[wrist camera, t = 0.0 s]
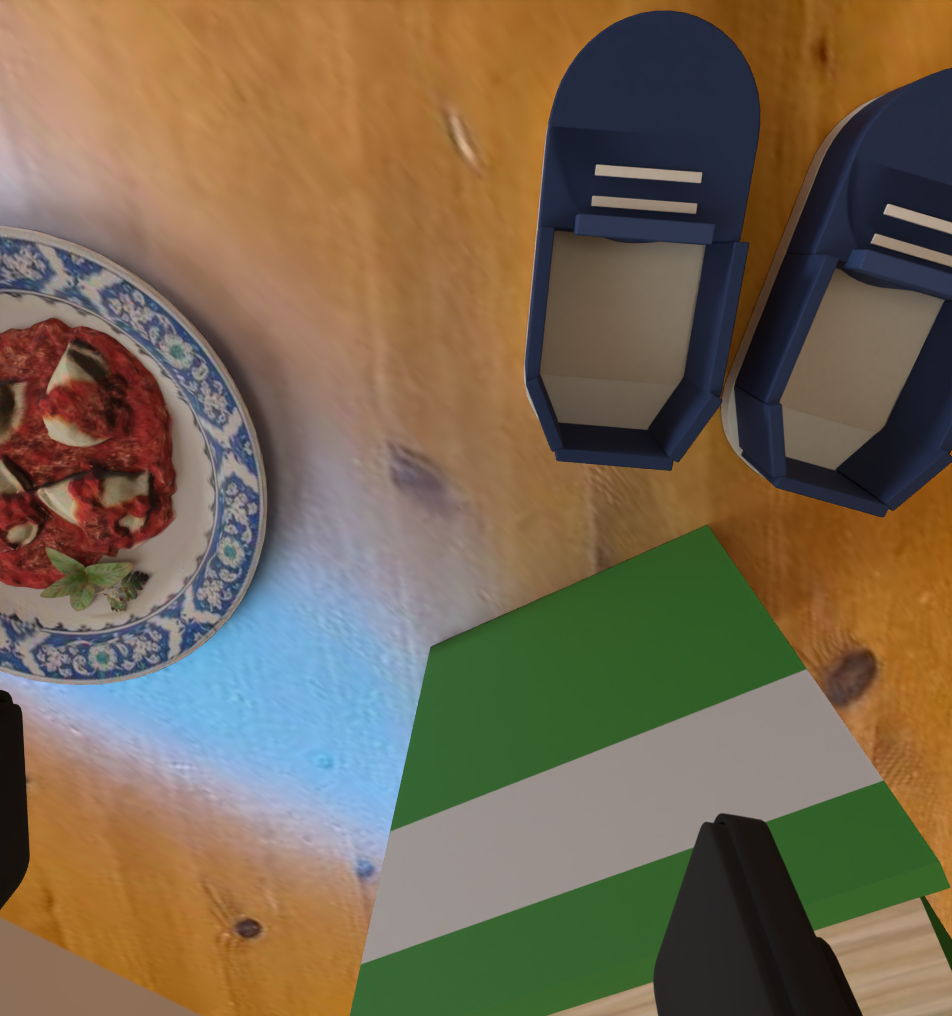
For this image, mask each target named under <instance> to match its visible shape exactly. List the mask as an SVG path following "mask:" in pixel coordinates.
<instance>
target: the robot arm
mask: <svg viewBox="0 0 952 1016" xmlns="http://www.w3.org/2000/svg"><path fill="white" fill-rule="evenodd" d="M29 857H30V852H29V833H28V814H27V795H26V777H25V758H24V739H23V720H22V711H21V708H20V706H19V705H17V704H13V702H12V697H11V696H10V694H9V693H8V692H6V691H3V690H0V909H1V908H2V907H3V906H4V904H5V903H6V902H7V900H8V899H9V898H10V897H11V895H12V894H13V893H14V892H15V890H16V889H17V888H18V886H19V885H20V883H21V882H22V880H23V878H24V876H25V873H26V871H27V868H28V864H29ZM653 986H654V996H655V1002H656V1007H657V1013H658V1016H863V1015H862V1012H861V1010H860V1008H859V1006H858V1003H857V1001H856V999H855V997H854V995H853V992H852V990H851V988H850V986H849V984H848V981H847V979H846V977H845V975H844V972H843V970H842V968H841V966H840V964H839V961H838V959H837V957H836V955H835V954H834V952H833V950H832V948H831V947H830V945H829V944H828V943H827V942H826V941H825V940H824V939H822V938H821V937H816V935H815V932H814V930H813V928H812V926H811V923H810V921H809V919H808V916H807V914H806V912H805V909H804V907H803V905H802V903H801V900H800V898H799V896H798V893H797V891H796V889H795V886H794V884H793V882H792V880H791V877H790V875H789V873H788V870H787V868H786V866H785V863H784V861H783V859H782V857H781V854H780V852H779V850H778V847H777V845H776V843H775V840H774V838H773V836H772V834H771V831H770V829H769V827H768V825H767V824H766V822H764V821H763V820H761V819H755V818H749V817H743V816H738V815H732V814H726V813H720V814H719V815H718V816H717V817H716V818H715V820H714V823H712V822H704V823H703V824H702V826H701V828H700V830H699V833H698V836H697V839H696V842H695V845H694V848H693V851H692V854H691V857H690V860H689V863H688V866H687V869H686V872H685V875H684V878H683V881H682V884H681V887H680V890H679V893H678V896H677V899H676V902H675V905H674V908H673V911H672V914H671V917H670V920H669V923H668V926H667V929H666V932H665V935H664V938H663V941H662V944H661V947H660V950H659V953H658V956H657V959H656V963H655V967H654V977H653Z"/></svg>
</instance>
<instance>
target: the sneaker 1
mask: <svg viewBox="0 0 952 1016" xmlns="http://www.w3.org/2000/svg"><path fill="white" fill-rule="evenodd" d="M759 130H760V103H759V95H758V91H757V87H756V83H755V79H754V77H753V74H752V72H751V69H750V67H749V64H748V63H747V61H746V59H745V57H744V56H743V54H742V52H741V51H740V50H739V49H738V47H737V46H736V45H735V43H734V42H733V41H732V40H731V39H730V38H729V37H728V36H727V35H726V34H725V33H724V32H723V31H721V30H720V29H718V28H717V27H716V26H714V25H713V24H711V23H709V22H707V21H705V20H703V19H701V18H699V17H697V16H693V15H690V14H687V13H683V12H676V11H651V12H644V13H640V14H636V15H633V16H630V17H627V18H625V19H623V20H620V21H618V22H616V23H614V24H612V25H611V26H609V27H608V28H606V29H605V30H603V31H602V32H600V33H599V34H598V35H597V36H595V37H594V38H593V39H592V40H591V41H590V42H588V44H587V45H586V46H585V47H584V48H583V49H582V50H581V51H580V52H579V53H578V55H577V56H576V57H575V59H574V60H573V62H572V63H571V64H570V66H569V68H568V69H567V71H566V73H565V75H564V77H563V78H562V80H561V83H560V85H559V88H558V90H557V93H556V96H555V99H554V103H553V106H552V110H551V114H550V118H549V122H548V127H547V133H546V139H545V149H544V159H543V170H542V180H541V191H540V201H539V212H538V222H537V233H536V243H535V254H534V264H533V275H532V285H531V296H530V306H529V317H528V327H527V338H526V348H525V360H524V378H525V387H526V391H527V395H528V399H529V401H530V404H531V406H532V408H533V410H534V412H535V414H536V416H537V417H538V419H539V420H540V423H541V426H542V428H543V431H544V433H545V436H546V438H547V441H548V444H549V446H550V449H551V451H552V452H553V451H555V456H556V460H557V461H563V462H574V463H586V464H598V465H609V466H621V467H633V468H644V469H656V470H668V471H671V470H672V466H673V460H674V461H676V462H679V461H680V460H681V458H682V457H683V456H684V454H685V453H686V452H687V450H688V449H689V447H690V446H691V445H692V443H693V442H694V441H695V439H696V438H697V436H698V435H699V434H700V432H701V431H702V430H703V428H704V427H705V425H706V424H707V423H708V421H709V420H710V419H711V417H712V416H713V414H714V413H715V412H716V410H717V409H718V408H719V406H720V405H721V403H722V402H723V400H722V399H721V398H719V397H720V396H721V393H722V388H723V382H724V377H725V371H726V366H727V361H728V355H729V350H730V345H731V339H732V334H733V328H734V323H735V318H736V312H737V307H738V302H739V296H740V291H741V285H742V280H743V275H744V269H745V264H746V259H747V253H748V248H749V243H748V242H740V239H741V233H742V228H743V222H744V217H745V211H746V206H747V200H748V195H749V189H750V184H751V178H752V173H753V167H754V162H755V156H756V151H757V145H758V139H759Z"/></svg>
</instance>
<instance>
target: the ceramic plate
mask: <svg viewBox="0 0 952 1016" xmlns="http://www.w3.org/2000/svg"><path fill="white" fill-rule="evenodd" d="M267 502H268V499H267V483H266V474H265V468H264V462H263V456H262V452H261V448H260V444H259V441H258V437H257V433H256V430H255V427H254V425H253V422H252V419H251V416H250V414H249V411H248V409H247V406H246V404H245V402H244V400H243V398H242V396H241V394H240V392H239V390H238V387H237V386H236V384H235V382H234V380H233V379H232V377H231V375H230V374H229V372H228V370H227V369H226V367H225V365H224V364H223V362H222V361H221V359H220V358H219V357H218V355H217V354H216V352H215V351H214V350H213V348H212V347H211V345H210V344H209V343H208V341H207V340H206V339H205V338H204V337H203V336H202V334H201V333H200V332H199V331H198V330H197V328H196V327H195V326H194V325H193V324H192V323H191V322H190V321H189V320H188V319H187V318H186V317H185V316H184V315H183V314H182V313H181V312H180V311H179V310H178V309H177V308H176V307H175V306H174V305H173V304H172V303H171V302H170V301H169V300H168V299H166V298H165V297H164V296H163V295H162V294H160V293H159V292H158V291H157V290H156V289H154V288H153V287H152V286H151V285H149V284H148V283H146V282H145V281H143V280H142V279H141V278H139V277H138V276H136V275H135V274H133V273H132V272H131V271H129V270H128V269H126V268H124V267H122V266H121V265H119V264H117V263H115V262H114V261H112V260H110V259H108V258H107V257H105V256H103V255H100V254H98V253H96V252H94V251H92V250H90V249H87V248H85V247H83V246H81V245H78V244H75V243H72V242H69V241H66V240H63V239H60V238H57V237H54V236H51V235H48V234H45V233H42V232H37V231H33V230H28V229H22V228H15V227H8V226H0V671H2V672H5V673H9V674H12V675H15V676H19V677H23V678H28V679H32V680H37V681H44V682H50V683H57V684H74V685H87V684H106V683H113V682H119V681H124V680H128V679H133V678H138V677H141V676H144V675H147V674H150V673H153V672H156V671H158V670H160V669H163V668H165V667H167V666H169V665H171V664H174V663H176V662H178V661H179V660H181V659H183V658H184V657H186V656H188V655H189V654H191V653H192V652H193V651H195V650H196V649H198V648H199V647H200V646H202V645H203V644H204V643H206V642H207V641H208V640H209V639H210V638H211V637H212V636H213V635H214V634H215V633H216V632H217V631H218V630H219V629H220V628H221V627H222V626H223V625H224V623H225V622H226V621H227V620H228V619H229V618H230V617H231V615H232V614H233V612H234V611H235V609H236V608H237V606H238V605H239V603H240V602H241V600H242V599H243V597H244V595H245V593H246V591H247V589H248V587H249V585H250V583H251V581H252V578H253V576H254V573H255V571H256V568H257V565H258V563H259V559H260V554H261V550H262V546H263V543H264V538H265V534H266V519H267Z"/></svg>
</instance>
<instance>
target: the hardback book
mask: <svg viewBox="0 0 952 1016" xmlns="http://www.w3.org/2000/svg"><path fill="white" fill-rule="evenodd" d="M720 813H726V814H732V815H738V816H743V817H749V818H755V819H761V820H763V821H764V822H766V824H767V825H768V827H769V829H770V831H771V834H772V836H773V838H774V840H775V843H776V845H777V847H778V850H779V852H780V854H781V857H782V859H783V861H784V863H785V866H786V868H787V870H788V873H789V875H790V877H791V880H792V882H793V884H794V886H795V889H796V891H797V893H798V896H799V898H800V900H801V903H802V905H803V907H804V909H805V912H806V914H807V916H808V919H809V921H810V923H811V926H812V928H813V930H814V932H815V935H816V937H821V938H822V939H824V940H825V941H826V942H827V943H828V944H829V945H830V947H831V948H832V950H833V952H834V954H835V955H836V957H837V959H838V961H839V964H840V966H841V968H842V970H843V972H844V975H845V977H846V979H847V981H848V984H849V986H850V988H851V990H852V992H853V995H854V997H855V999H856V1001H857V1003H858V1006H859V1008H860V1010H861V1012H862V1015H863V1016H952V939H951V937H950V936H949V934H948V933H947V931H946V929H945V928H944V926H943V925H942V923H941V922H940V920H939V918H938V917H937V915H936V914H935V912H934V910H933V909H932V907H931V906H930V904H929V902H928V901H927V899H926V898H925V896H926V895H929V894H932V893H935V892H938V891H942V890H945V889H948V888H950V886H949V883H948V881H947V878H946V876H945V873H944V871H943V869H942V866H941V864H940V861H939V860H938V858H937V857H936V856H935V854H934V853H933V851H932V850H931V848H930V847H929V845H928V844H927V843H926V841H925V840H924V838H923V837H922V835H921V834H920V832H919V831H918V829H917V828H916V827H915V825H914V824H913V822H912V821H911V819H910V818H909V816H908V815H907V814H906V812H905V811H904V809H903V808H902V806H901V805H900V803H899V802H898V800H897V799H896V798H895V796H894V795H893V793H892V792H891V790H890V789H889V787H888V786H887V784H886V783H885V782H884V780H883V779H882V777H881V776H880V774H879V773H878V771H877V770H876V769H875V767H874V766H873V764H872V763H871V761H870V760H869V758H868V757H867V755H866V754H865V753H864V751H863V750H862V748H861V747H860V745H859V744H858V742H857V741H856V740H855V738H854V737H853V735H852V734H851V732H850V731H849V729H848V728H847V726H846V725H845V724H844V722H843V721H842V719H841V718H840V716H839V715H838V713H837V712H836V711H835V709H834V708H833V706H832V705H831V703H830V702H829V700H828V699H827V697H826V696H825V695H824V693H823V692H822V690H821V689H820V687H819V686H818V684H817V683H816V681H815V680H814V679H813V677H812V676H811V674H810V673H809V671H808V670H807V668H806V667H805V666H804V664H803V663H802V661H801V660H800V658H799V657H798V655H797V654H796V652H795V651H794V650H793V648H792V647H791V645H790V644H789V642H788V641H787V639H786V638H785V637H784V635H783V634H782V632H781V631H780V629H779V628H778V626H777V625H776V623H775V622H774V621H773V619H772V618H771V616H770V615H769V613H768V612H767V610H766V609H765V608H764V606H763V605H762V603H761V602H760V600H759V599H758V597H757V596H756V594H755V593H754V592H753V590H752V589H751V587H750V586H749V584H748V583H747V581H746V580H745V578H744V577H743V576H742V574H741V573H740V571H739V570H738V568H737V567H736V565H735V564H734V563H733V561H732V560H731V558H730V557H729V555H728V554H727V552H726V551H725V549H724V548H723V547H722V545H721V544H720V542H719V541H718V539H717V538H716V536H715V535H714V534H713V532H712V531H711V529H710V528H709V526H708V525H706V526H704V527H701V528H699V529H697V530H695V531H692V532H690V533H688V534H686V535H683V536H681V537H679V538H676V539H674V540H672V541H670V542H667V543H665V544H663V545H661V546H658V547H656V548H654V549H652V550H649V551H647V552H645V553H643V554H640V555H638V556H636V557H633V558H631V559H629V560H627V561H624V562H622V563H620V564H618V565H615V566H613V567H611V568H609V569H606V570H604V571H602V572H600V573H597V574H595V575H593V576H590V577H588V578H586V579H584V580H581V581H579V582H577V583H575V584H572V585H570V586H568V587H566V588H563V589H561V590H559V591H556V592H554V593H552V594H550V595H547V596H545V597H543V598H541V599H538V600H536V601H534V602H532V603H529V604H527V605H525V606H523V607H520V608H518V609H516V610H513V611H511V612H509V613H507V614H504V615H502V616H500V617H498V618H495V619H493V620H491V621H489V622H486V623H484V624H482V625H479V626H477V627H475V628H473V629H470V630H468V631H466V632H464V633H461V634H459V635H457V636H455V637H452V638H450V639H448V640H446V641H443V642H441V643H439V644H436V645H434V646H432V647H430V652H429V657H428V661H427V666H426V670H425V675H424V679H423V684H422V689H421V693H420V698H419V702H418V707H417V711H416V716H415V720H414V725H413V730H412V734H411V739H410V743H409V748H408V752H407V757H406V762H405V766H404V771H403V775H402V780H401V784H400V789H399V793H398V798H397V803H396V807H395V812H394V816H393V821H392V825H391V830H390V834H389V839H388V844H387V848H386V853H385V857H384V862H383V866H382V871H381V876H380V880H379V885H378V889H377V894H376V898H375V903H374V907H373V912H372V917H371V921H370V926H369V930H368V935H367V939H366V944H365V949H364V953H363V958H362V962H361V967H360V971H359V976H358V980H357V985H356V990H355V994H354V999H353V1003H352V1008H351V1012H350V1016H658V1013H657V1007H656V1002H655V996H654V986H653V977H654V967H655V963H656V959H657V956H658V953H659V950H660V947H661V944H662V941H663V938H664V935H665V932H666V929H667V926H668V923H669V920H670V917H671V914H672V911H673V908H674V905H675V902H676V899H677V896H678V893H679V890H680V887H681V884H682V881H683V878H684V875H685V872H686V869H687V866H688V863H689V860H690V857H691V854H692V851H693V848H694V845H695V842H696V839H697V836H698V833H699V830H700V828H701V826H702V824H703V823H704V822H712V823H714V820H715V818H716V817H717V816H718V815H719V814H720Z"/></svg>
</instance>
